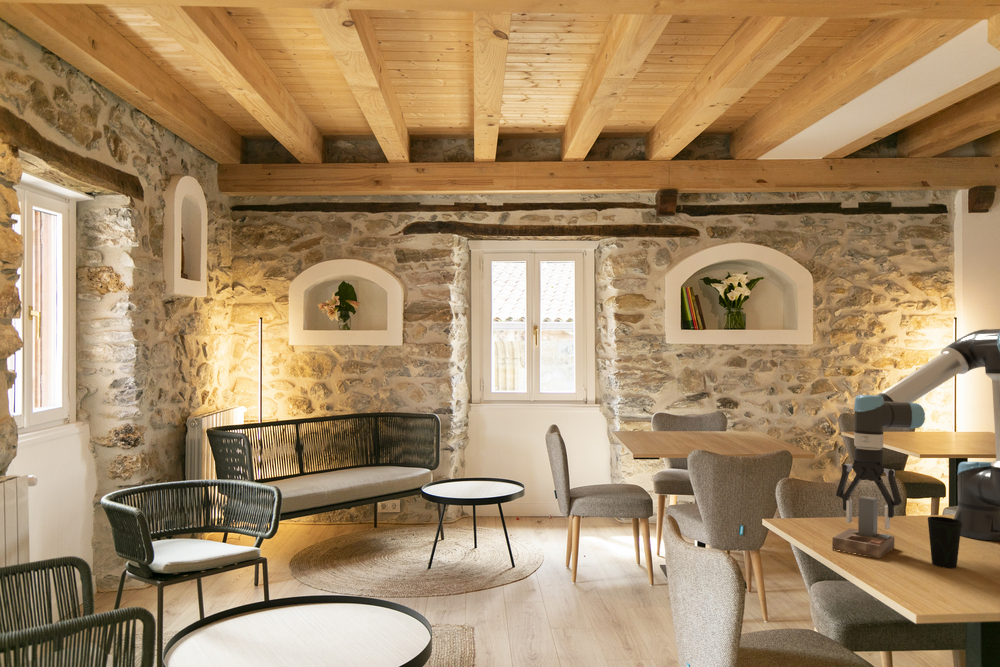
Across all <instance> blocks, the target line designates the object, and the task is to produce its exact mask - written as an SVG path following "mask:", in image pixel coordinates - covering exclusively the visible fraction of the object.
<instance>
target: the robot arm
mask: <svg viewBox="0 0 1000 667" xmlns="http://www.w3.org/2000/svg"><path fill="white" fill-rule="evenodd" d="M977 368H985V370H984V371H985V375H986V376H988V377H989V378H990V379H991V382H992V383H991V384H992V385H991V387H992V388H991V389H992V405H993V407H992V408H993V421H994V422H993V423H994V438H995V439H994V441H995V457H996V458H995V460H993V461H961V462H959V463H958V466H957V509H956V511H955V514H954V516H953V519H957V520H959V521H961V522H962V524H961V533H960V537H966V538H970V539H976V540H983V541H996V542H998V541H999V542H1000V328H990V329H988V328H987V329H986V328H985V329H979V330H976V331H975V330H974V331H972V332H970V333H968V334H966V335H964V336H962V337H960V338H958V339H956V340H955V341H954V342H952V343H950V344H949V345H947V346H945V347H944V348H942V349H941V351H940V355H939V354H938V356H936V357H934V358H933V359H931V360H929V361H928V362H927V363H925V364H923V365H922V366H920V367H919V368H917V369H915V370H914V371H913V372H911V373H909V374H908V375H906V376H904V377H903V378H902V379H900V380H898V381H897V382H895V383H894V384H892V385H891V386H889V387H887V388H886V389H884V390H883V391H881V392H879V393H878V394H876V395H875V394H859V395H856V396H855V399H854V406H853V411H854V413H853V414H854V415H853V416H854V417H853V419H854V420H853V421H854V422H853V423H854V425H853V426H854V428H853V429H854V432H853V436H854V437H853V438H854V439H853V442H854V443H853V444H854V446H855V448H854V449H853V463H852V464H848V463H845V464H842V465H841V468H842V469H841V470H842V473H841V477H840V480H839V483H838V487H837V490H836V493H835V496H836V497H838V498H841V499H842V510H843V511H846V512H845V513H846V515H845V516H846V517H845V523H846V524H851V523H852V522H853V519H852V518H853V513H852V512H853V500H852V499H850V497H851V496H852V494H853V493H854V491H855V490H856V488H857V486H858V485H859V483H860V481H870V482H874V483H875V484H876V486H877V488H878V489H879V492H880V493H881V495H882V498H883V500H884V501H885V503H886V505H884V530H889V529H891V519H892V518H894V516H895V507H896V506H899V505H901V504H902V502H903V501H902V499H901V494H900V491H899V487H898V484H897V480H896V470H895V469H893V468H892V469H889V468H885V466H884V451H883V450H882V449H883V448H884V429H908V430H911V429H919V428H920V427H922V426H923V425H924V423H925V420H926V416H925V415H926V413H925V410H924V408H923V406H922V404H919V403H916V402H915V401H917V400H919V399H920V398H922V397H923V396H925V395H927V394H928V393H930V392H931V391H933V390H935V389H936V388H938V387H940V386H941V385H943V384H945V382H947V381H949V380H950V379H951V378H953V377H955V376H957V375H964V374H966V373H968V372H970V371H971V370H974V369H977ZM852 470H853V471H854V472H855V476H854V478H853V480H852V481H851V483H850V484H849V486H848V488H847V489H846V485H847V482H848V478H849V476H850V472H851V471H852ZM884 473H885V476H886V477H887V479H888V484H889V488H890V490H891V494H892V495H891V494H890V492H889V490H888V488H887V487H886V485H885V483H884V480H883V479H882V475H883V474H884ZM845 489H846V491H845ZM844 491H845V493H844Z"/></svg>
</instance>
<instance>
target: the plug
mask: <svg viewBox="0 0 1000 667" xmlns="http://www.w3.org/2000/svg"><path fill="white" fill-rule="evenodd" d="M878 501H879V500H878V497H871V496H865V495H862V496H860V497H858V518H857V519H858V528H857V530H858V535H862V536H868V537H874V538H876V537H877V533H878V511H879V510H878V505H879V502H878Z"/></svg>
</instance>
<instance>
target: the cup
mask: <svg viewBox="0 0 1000 667" xmlns="http://www.w3.org/2000/svg"><path fill="white" fill-rule="evenodd" d="M961 524H962V522H961V521H959V520H957V519H954V518H952V517H947V516H929V517H927V527H928V535H929V536H928V537H929V546H930V556H931V557H930V558H931V564H932V565H934V566H935V565H936V567H939V568H943V567H945V568H944V569H956V567H958V566H957V565H958V559H959V558H958V557H959V550H960V540H961V535H960V533H961Z"/></svg>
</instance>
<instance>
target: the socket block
mask: <svg viewBox="0 0 1000 667" xmlns="http://www.w3.org/2000/svg"><path fill="white" fill-rule="evenodd" d="M831 545H832V546H831V548H832V549H835V550H840V551H839V552H841V551H845V552H844V553H846V552H850V553H849V554H851V553H856V554H861V555H866V556H870V557H869V558H871V557H875V558H874V559H877V558H880V557H881V558H883V557H884V556H885V555H887V554H888V553H890V552H891V551H892V550H894V549H895V535H891V534H885V533H880V532H879V533H878V532H877V537H876V538H874V537H868V536H862V535H858V528H857V529H856V528H851V527H850V528H848V529H846V530H844V531H842V532H840V533H838V534H836V535H835V536H833V537H832V544H831ZM893 548H894V549H893ZM832 549H831V550H832ZM891 549H892V550H891ZM835 550H834V551H835ZM890 550H891V551H890ZM889 551H890V552H889ZM887 552H888V553H887ZM886 553H887V554H886ZM856 554H855V555H856ZM884 554H885V555H884ZM861 555H860V556H861ZM883 555H884V556H883ZM866 556H865V557H866ZM882 556H883V557H882ZM881 558H880V559H881Z"/></svg>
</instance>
